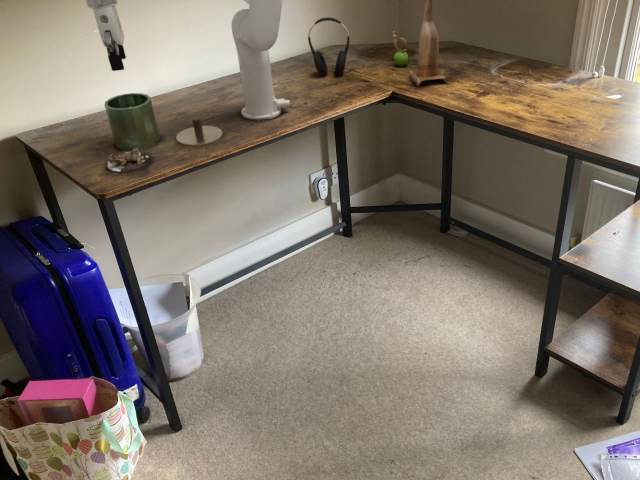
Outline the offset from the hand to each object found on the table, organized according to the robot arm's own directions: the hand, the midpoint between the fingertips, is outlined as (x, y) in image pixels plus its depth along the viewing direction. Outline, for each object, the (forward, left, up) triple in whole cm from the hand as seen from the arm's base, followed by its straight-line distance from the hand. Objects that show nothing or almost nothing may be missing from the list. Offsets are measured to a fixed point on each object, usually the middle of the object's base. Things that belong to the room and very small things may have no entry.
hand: (119, 64), depth 180 cm
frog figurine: (+3, +14, -23) cm, 27 cm away
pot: (0, 0, -23) cm, 23 cm away
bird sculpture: (-99, -24, -23) cm, 104 cm away
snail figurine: (-94, -43, -23) cm, 106 cm away
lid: (-18, +3, -22) cm, 29 cm away
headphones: (-67, -41, -23) cm, 82 cm away
